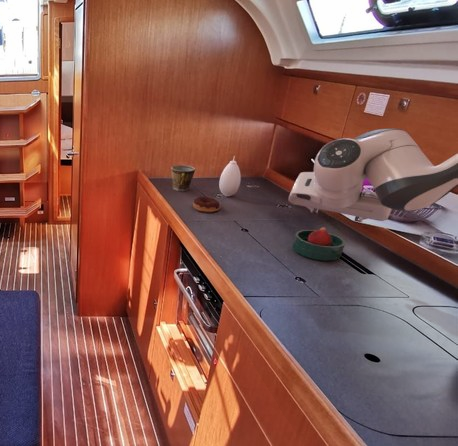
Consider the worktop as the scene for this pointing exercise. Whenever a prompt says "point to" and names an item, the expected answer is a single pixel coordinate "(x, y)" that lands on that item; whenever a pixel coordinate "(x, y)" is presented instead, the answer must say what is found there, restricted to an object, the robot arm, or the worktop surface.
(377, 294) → the worktop surface
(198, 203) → the donut
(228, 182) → the white tall oval
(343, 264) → the worktop surface
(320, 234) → the red pomegranate
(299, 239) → the bowl
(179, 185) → the ceramic cup
